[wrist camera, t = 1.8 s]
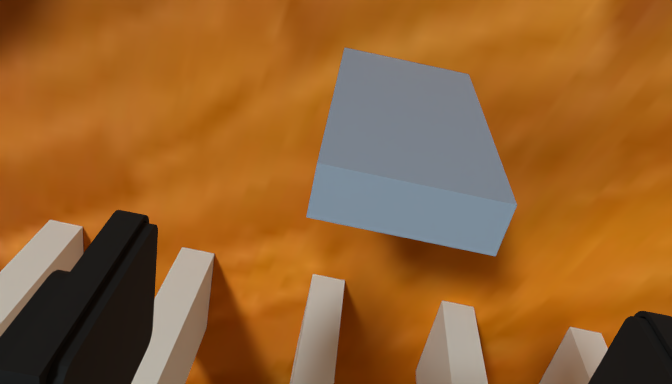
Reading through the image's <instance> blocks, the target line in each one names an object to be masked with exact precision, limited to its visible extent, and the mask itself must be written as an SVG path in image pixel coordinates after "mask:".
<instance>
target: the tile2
mask: <svg viewBox="0 0 672 384" xmlns="http://www.w3.org/2000/svg"><path fill="white" fill-rule="evenodd" d="M416 384H488V381H487V376H486V370H485V365H484V360H483V354H482V349H481V344H480V338H479V333H478V328H477V322H476V317H475V311H474V307H471V306H466V305H461V304H457V303H452V302H447V301H442V302H441V305H440V307H439V310H438V313H437V315H436V318H435V321H434V323H433V326H432V329H431V331H430V334H429V337H428V339H427V342H426V345H425V347H424V350H423V353H422V355H421V358H420V361H419V363H418V366H417V369H416Z"/></svg>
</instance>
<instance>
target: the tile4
mask: <svg viewBox="0 0 672 384" xmlns="http://www.w3.org/2000/svg"><path fill="white" fill-rule="evenodd" d="M213 263H214V253H209V252H204V251H199V250H194V249H189V248H184V247H182V248H181V250H180V252H179V254H178V256H177V258H176V260H175V262H174V263H173V265H172V267H171V269H170V271H169V273H168V275H167V277H166V278H165V280H164V282H163V284H162V286H161V288H160V290H159V292H158V293H157V295H156V297H155V299H154V316H153V331H152V336H151V340H150V343H149V346H148V348H147V351H146V353H145V355H144V357H143V359H142V361H141V363H140V366H139V368H138V370H137V372H136V374H135V376H134V378H133V381H132V383H131V384H185V382H186V380H187V377H188V374H189V372H190V369H191V367H192V364H193V362H194V359H195V356H196V354H197V351H198V349H199V346H200V344H201V341H202V338H203V336H204V333H205V331H206V328H207V319H208V310H209V300H210V291H211V282H212V273H213Z"/></svg>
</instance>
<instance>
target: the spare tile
mask: <svg viewBox="0 0 672 384" xmlns="http://www.w3.org/2000/svg"><path fill="white" fill-rule="evenodd" d="M516 206H517V204H516V201H515V198H514V195H513V193H512V190H511V187H510V185H509V182H508V179H507V177H506V174H505V171H504V168H503V166H502V163H501V160H500V158H499V155H498V152H497V150H496V147H495V144H494V141H493V139H492V136H491V133H490V131H489V128H488V125H487V122H486V120H485V117H484V114H483V112H482V109H481V106H480V104H479V101H478V98H477V95H476V93H475V90H474V87H473V85H472V82H471V79H470V77H469V74H465V73H460V72H456V71H451V70H446V69H442V68H437V67H433V66H428V65H423V64H419V63H414V62H409V61H405V60H400V59H396V58H391V57H386V56H382V55H377V54H372V53H368V52H363V51H359V50H354V49H349V48H344V52H343V57H342V61H341V65H340V69H339V73H338V78H337V82H336V86H335V90H334V94H333V99H332V103H331V107H330V111H329V116H328V120H327V124H326V128H325V132H324V137H323V141H322V145H321V149H320V153H319V158H318V162H317V167H316V172H315V177H314V182H313V187H312V192H311V197H310V202H309V207H308V212H307V217H308V218H313V219H318V220H322V221H327V222H332V223H337V224H342V225H347V226H351V227H356V228H361V229H366V230H371V231H375V232H380V233H385V234H390V235H395V236H400V237H404V238H409V239H414V240H419V241H424V242H428V243H433V244H438V245H443V246H448V247H453V248H457V249H462V250H467V251H472V252H477V253H481V254H486V255H491V256H496V254H497V252H498V249H499V247H500V245H501V242H502V240H503V237H504V235H505V233H506V230H507V228H508V225H509V223H510V221H511V218H512V216H513V213H514V211H515V209H516Z"/></svg>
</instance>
